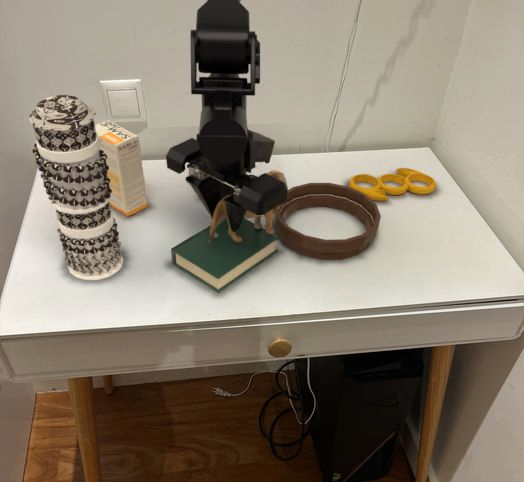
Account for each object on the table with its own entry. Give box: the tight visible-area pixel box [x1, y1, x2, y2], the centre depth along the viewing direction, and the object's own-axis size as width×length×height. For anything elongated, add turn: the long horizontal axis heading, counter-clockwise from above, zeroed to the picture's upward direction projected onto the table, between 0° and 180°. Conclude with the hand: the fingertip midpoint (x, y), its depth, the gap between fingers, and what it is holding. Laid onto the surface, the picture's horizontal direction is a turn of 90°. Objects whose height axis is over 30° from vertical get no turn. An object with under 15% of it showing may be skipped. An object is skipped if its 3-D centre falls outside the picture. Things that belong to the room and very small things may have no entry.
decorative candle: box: [28, 94, 124, 281], centre depth 79 cm, size 9×9×25 cm
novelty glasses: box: [348, 167, 437, 202], centre depth 106 cm, size 17×2×10 cm
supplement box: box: [95, 119, 149, 217], centre depth 95 cm, size 8×5×13 cm, turn 47°
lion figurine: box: [208, 169, 288, 242], centre depth 86 cm, size 15×5×9 cm, turn 129°
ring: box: [273, 182, 382, 261], centre depth 95 cm, size 17×17×4 cm
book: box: [170, 218, 280, 294], centre depth 89 cm, size 10×14×3 cm
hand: (225, 225), depth 86 cm, fingers closed on lion figurine, 4 cm apart
